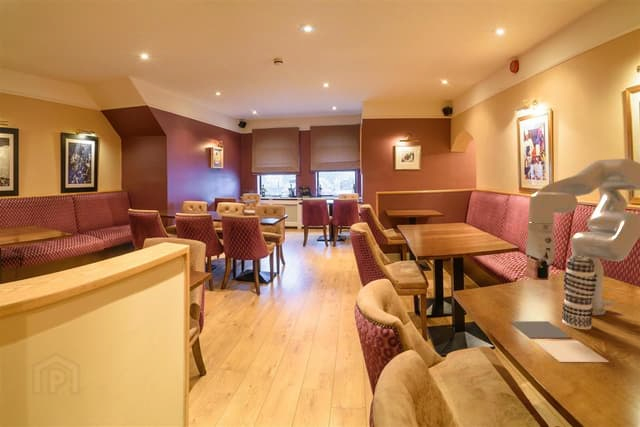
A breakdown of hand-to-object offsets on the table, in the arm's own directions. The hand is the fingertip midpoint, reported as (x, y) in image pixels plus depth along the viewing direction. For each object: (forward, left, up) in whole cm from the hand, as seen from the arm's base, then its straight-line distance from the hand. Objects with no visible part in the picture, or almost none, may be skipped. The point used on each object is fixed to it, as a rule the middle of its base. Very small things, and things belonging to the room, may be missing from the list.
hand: (537, 275), depth 117 cm
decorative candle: (-13, +3, -18) cm, 22 cm away
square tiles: (+3, +14, -18) cm, 23 cm away
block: (0, 0, -1) cm, 1 cm away
